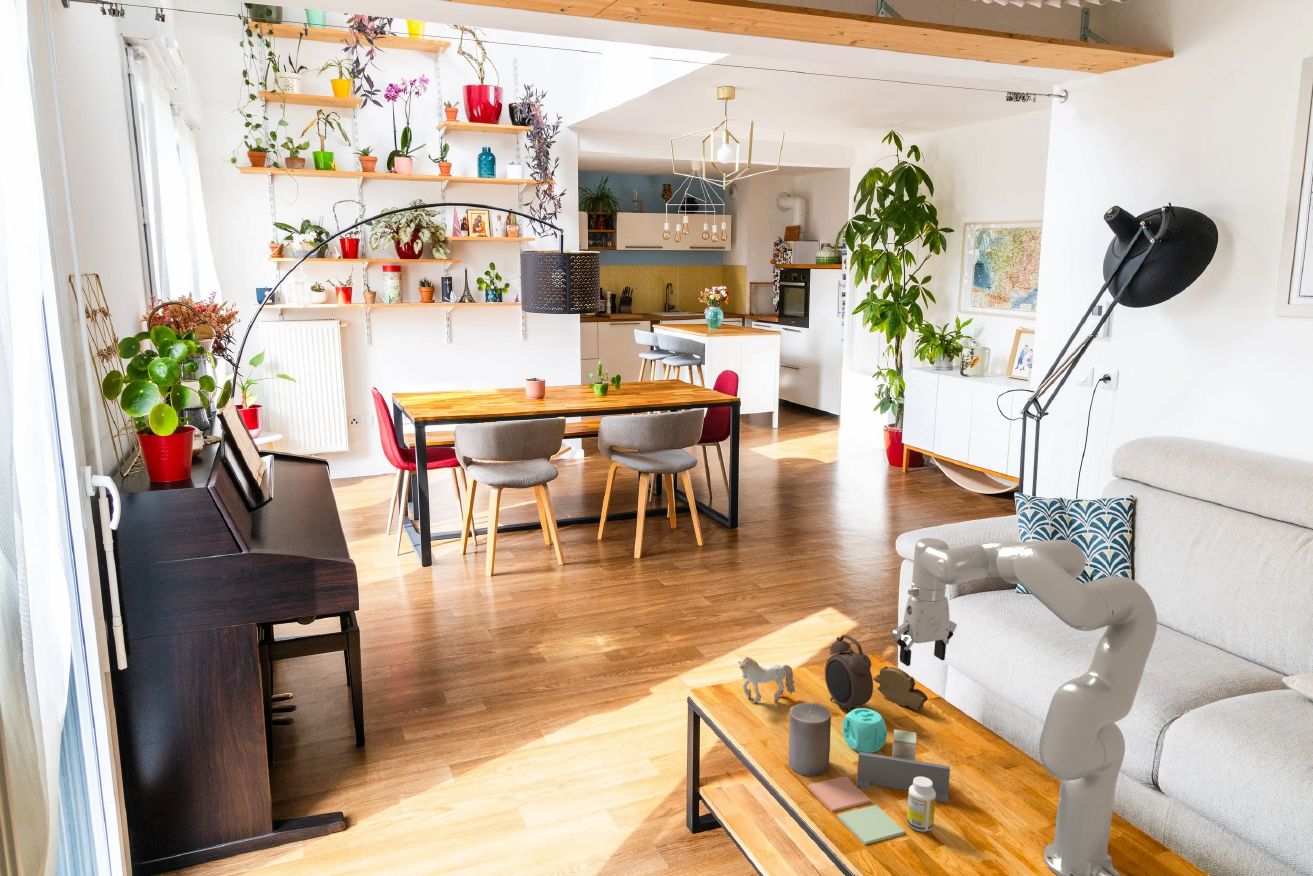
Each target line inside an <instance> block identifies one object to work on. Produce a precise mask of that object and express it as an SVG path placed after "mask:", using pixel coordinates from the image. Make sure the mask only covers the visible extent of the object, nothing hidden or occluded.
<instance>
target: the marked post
mask: <svg viewBox="0 0 1313 876" xmlns="http://www.w3.org/2000/svg"><path fill="white" fill-rule="evenodd" d="M892 741H893V742H892V755H891V757H895V758H901V759H907V760H914V761H916V750H917V749H916V748H917V732H913V731H906V730H900V729H896V728H895V729H893V740H892Z"/></svg>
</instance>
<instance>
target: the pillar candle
mask: <svg viewBox="0 0 1313 876" xmlns="http://www.w3.org/2000/svg"><path fill="white" fill-rule="evenodd" d="M831 724H832V714H831V711H830V710H829V709H828V708H827V707H825V706H823V705H821V704H818V703H811V702H803V703H802V702H801V703H797V704H795V705H794V706H792V707H790V709H789V734H788V735H789V737H788V766H789V768H790V769H792V770H793V771H794V772H796V774H800V775H803V776H808V777H815V776H820V775H823V774H826V773H827V772H828V771H829V769H830V753H831V752H830V750H831V729H832V728H831V726H832V725H831Z"/></svg>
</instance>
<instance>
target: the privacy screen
mask: <svg viewBox="0 0 1313 876" xmlns="http://www.w3.org/2000/svg"><path fill="white" fill-rule="evenodd" d="M857 759H858V760H857V772H856V773H857V775H856V784H855V786H856V787H857V788H858V789H859V790H868V791H870V790H871V785H872V786H876V787H877V786H879V787H884V788H890V789H896V790H900V789H902V791H906V790H909V788H910V786H911V785H913V780H914V778H915V777H919V776H921V777H926V778H928V779H930V780H931V781H932V783H933V789H934V790H935V793H936V800H935V802H936V801H939V802H938V803H942V802H943V803H944V804H949V787H950V773H951V767H950V765H944V764H937V763H932V762H925V761H919V760H915V761H914V760H907V759H901V758H895V757H892V756H888V755H887V756H886V755H881V754H875V753H864V752H858V758H857Z"/></svg>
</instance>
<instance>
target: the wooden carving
mask: <svg viewBox="0 0 1313 876" xmlns="http://www.w3.org/2000/svg"><path fill="white" fill-rule="evenodd" d="M872 679H873V682H875V683H877V684H879V686H878V687H877V690H878V691H879V692H880V693H881V695H882V696H884V697H885V698H886V700H888V701H890V703H893V704H895V703H896V704H895V705H897V704H898V705H897V706H900V705H901V707H910V709H912V710H914V711H916V712H919V711H920V710H921V709H922V708H924V704H925V703H926V702H927V701H928V699H929V697H928V696H927V695H926V693H925V692H924V691H922V690H920V689H919V688H918V689H917V688H915V686H916V680H915V679H914V677H913V676H910V675H909V674H908V673H907V672H906V671H904V670H903V669H900V668H898V667H893V666H890V667H888V666H884V667H881V668H880V671H879V673H878V674H877V675H875V676H874V677H872Z"/></svg>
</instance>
